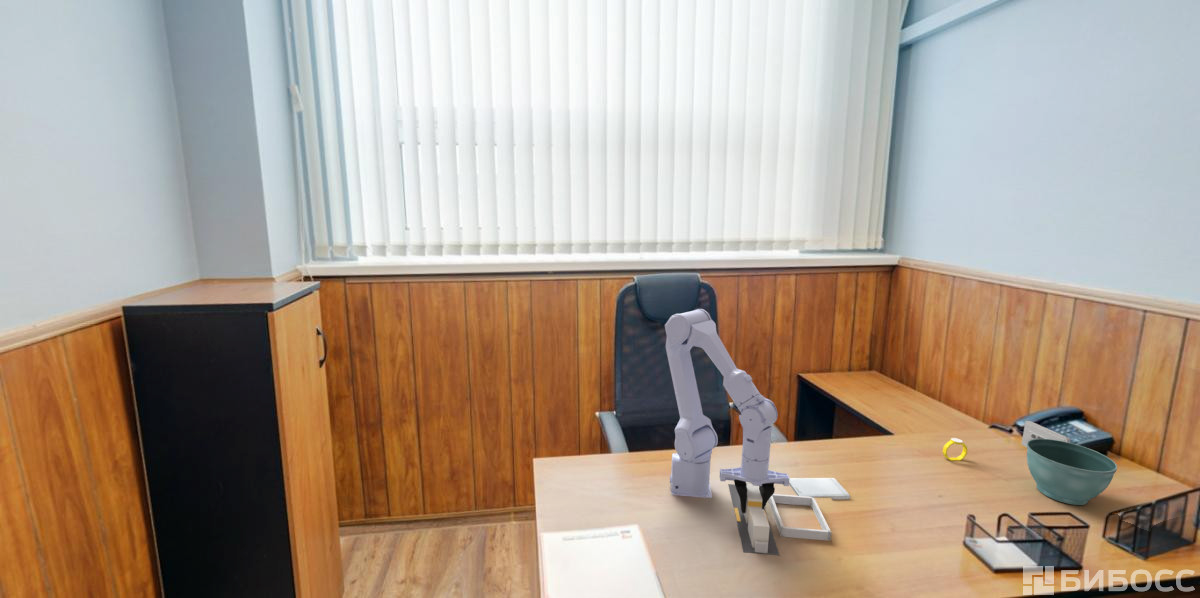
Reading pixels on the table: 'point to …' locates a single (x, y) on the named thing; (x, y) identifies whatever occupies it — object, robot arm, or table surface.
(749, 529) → the block
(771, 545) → the block
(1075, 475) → the teal green bowl
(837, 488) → the hard drive
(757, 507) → the block
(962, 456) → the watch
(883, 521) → the table surface
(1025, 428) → the cassette
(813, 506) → the tray
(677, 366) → the robot arm
